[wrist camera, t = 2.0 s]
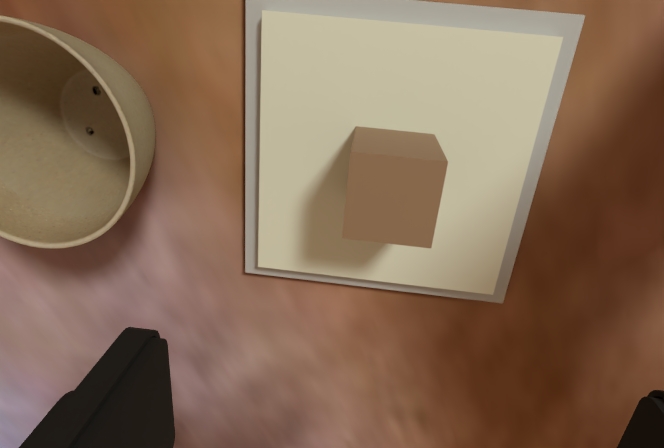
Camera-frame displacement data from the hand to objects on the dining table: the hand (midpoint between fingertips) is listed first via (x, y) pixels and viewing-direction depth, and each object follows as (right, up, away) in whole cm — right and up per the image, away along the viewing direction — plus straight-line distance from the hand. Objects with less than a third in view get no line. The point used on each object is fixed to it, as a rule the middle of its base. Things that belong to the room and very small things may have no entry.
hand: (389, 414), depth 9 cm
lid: (+2, +7, +15) cm, 17 cm away
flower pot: (-14, +10, +17) cm, 24 cm away
